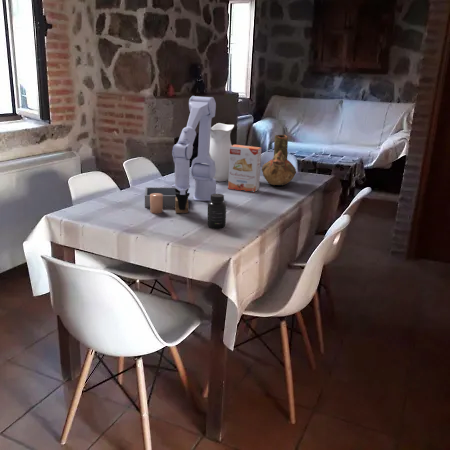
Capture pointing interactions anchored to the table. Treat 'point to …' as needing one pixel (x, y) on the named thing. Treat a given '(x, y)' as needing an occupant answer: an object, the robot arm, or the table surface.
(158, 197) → the peach rounded capsule
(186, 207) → the cube
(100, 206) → the table surface
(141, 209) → the table surface
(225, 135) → the pitcher
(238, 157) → the cracker box
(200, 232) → the table surface
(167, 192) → the tote
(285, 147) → the ceramic vessel
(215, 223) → the supplement bottle
